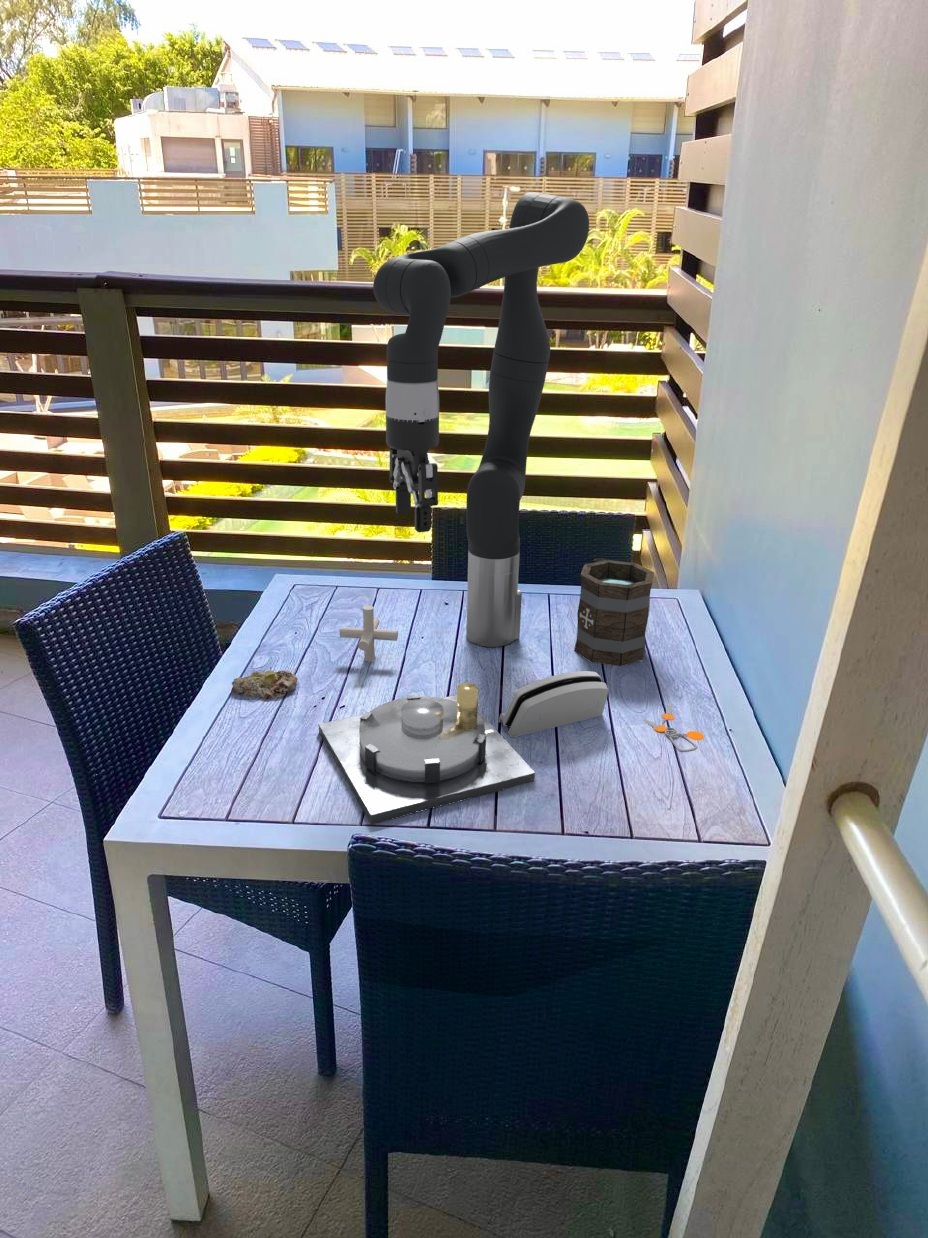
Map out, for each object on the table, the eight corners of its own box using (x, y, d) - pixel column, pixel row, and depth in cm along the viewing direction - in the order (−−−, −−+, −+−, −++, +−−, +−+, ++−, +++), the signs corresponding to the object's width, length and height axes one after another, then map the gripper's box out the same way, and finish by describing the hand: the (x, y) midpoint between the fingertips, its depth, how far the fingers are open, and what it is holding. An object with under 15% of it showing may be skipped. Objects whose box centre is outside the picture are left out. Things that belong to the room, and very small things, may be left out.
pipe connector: (401, 648, 157) (401, 598, 153) (392, 674, 148) (391, 621, 144) (347, 645, 158) (346, 594, 154) (335, 670, 149) (332, 617, 145)
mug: (657, 664, 154) (667, 586, 148) (583, 667, 152) (590, 589, 146) (624, 618, 172) (632, 547, 165) (558, 621, 170) (563, 549, 164)
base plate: (462, 701, 140) (462, 693, 140) (534, 781, 121) (535, 772, 120) (318, 732, 131) (318, 723, 130) (371, 824, 111) (371, 814, 111)
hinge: (586, 700, 142) (603, 658, 135) (600, 722, 139) (618, 679, 132) (495, 721, 135) (508, 678, 128) (508, 744, 132) (522, 701, 125)
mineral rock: (296, 661, 147) (296, 671, 140) (299, 686, 148) (299, 697, 140) (231, 668, 146) (228, 678, 138) (234, 693, 146) (231, 705, 138)
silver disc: (365, 789, 115) (364, 731, 111) (354, 717, 132) (352, 665, 128) (497, 776, 118) (499, 720, 115) (470, 708, 135) (471, 656, 131)
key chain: (717, 747, 130) (717, 743, 130) (674, 755, 128) (675, 750, 128) (672, 706, 141) (673, 702, 141) (632, 713, 139) (633, 708, 139)
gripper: (371, 404, 126) (374, 511, 133) (403, 424, 114) (404, 540, 121) (420, 401, 129) (420, 506, 136) (456, 420, 117) (454, 534, 124)
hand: (412, 522), depth 128 cm, fingers open, 8 cm apart
